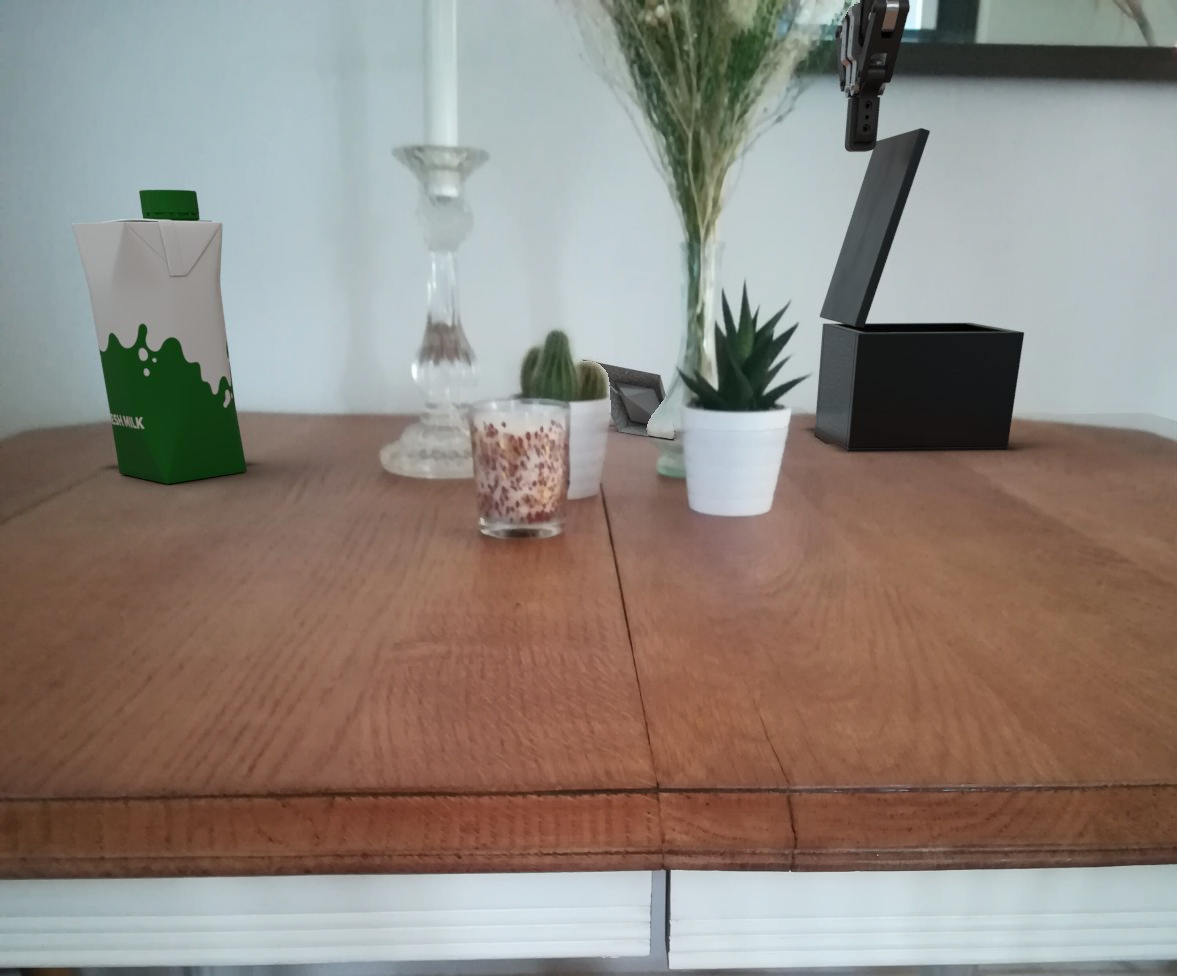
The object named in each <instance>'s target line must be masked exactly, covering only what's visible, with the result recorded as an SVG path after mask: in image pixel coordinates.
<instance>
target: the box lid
mask: <svg viewBox="0 0 1177 976" xmlns="http://www.w3.org/2000/svg"><path fill="white" fill-rule="evenodd" d="M930 133H931V130H929V129H926V128H923V127H920V128H916V129H913V130H910V131H906V132H902V133H899V134H896V135H893V136H890V137H889V136H888V137H886V138H883V139H882V138H881V139H879V140H877V141H876V146H875V148H874V149H873V150H872V152H871V155H870V158H869V161H868V164H867V167H866V170H865V173H864V176H863V180H862V182H861V186H860V189H859V193H858V195H857V198H856V201H855V205H854V208H853V211H852V214H851V217H850V219H849V220H850V221H849V223H848V226H847V228H846V229H847V230H846V232H845V236H844V239H843V242H842V245H841V248H840V251H839V255H838V258H837V261H836V264H835V267H834V270H833V272H832V275H831V280H830V282H829V286H828V289H827V291H826V295H825V298H824V301H823V303H822V307H821V311H820V313H819V318H821V319H825V320H827V321H832V322H835V323H844V324H848V325H852V326H855V327H859V328H864V326H865V323H867V320H868V317H869V313H870V311H871V308H872V304H873V302H874V299H875V297H876V293H877V290H878V287H879V285H880V281H881V278H882V275H883V272H884V269H885V266H886V263H887V261H888V257H889V255H890V252H891V249H892V245H893V242H894V240H895V238H896V234H897V231H898V228H899V225H900V222H901V219H902V216H903V213H904V210H905V207H906V204H907V201H908V198H909V195H910V192H911V189H912V186H913V184H914V180H915V178H916V175H917V172H918V168H919V166H920V163H921V160H922V157H923V155H924V150H925V148H926V145H927V142H928V139H929V136H930Z"/></svg>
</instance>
